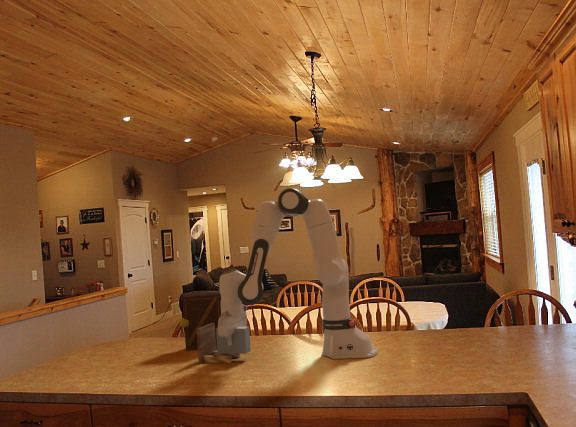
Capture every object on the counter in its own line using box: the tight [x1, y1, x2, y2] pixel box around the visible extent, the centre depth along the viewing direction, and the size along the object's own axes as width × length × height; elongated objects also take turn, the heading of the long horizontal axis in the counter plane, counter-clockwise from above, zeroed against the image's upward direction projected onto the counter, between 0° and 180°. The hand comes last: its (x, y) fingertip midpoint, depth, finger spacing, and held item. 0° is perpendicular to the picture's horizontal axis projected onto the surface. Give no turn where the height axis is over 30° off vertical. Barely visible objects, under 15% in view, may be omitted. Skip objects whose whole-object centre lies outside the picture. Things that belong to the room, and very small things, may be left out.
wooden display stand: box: [196, 323, 241, 364], centre depth 222 cm, size 14×13×14 cm
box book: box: [216, 326, 252, 355], centre depth 220 cm, size 13×4×10 cm, turn 70°
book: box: [179, 291, 221, 351], centre depth 247 cm, size 22×8×25 cm, turn 84°
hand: (233, 343), depth 220 cm, fingers closed on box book, 4 cm apart
